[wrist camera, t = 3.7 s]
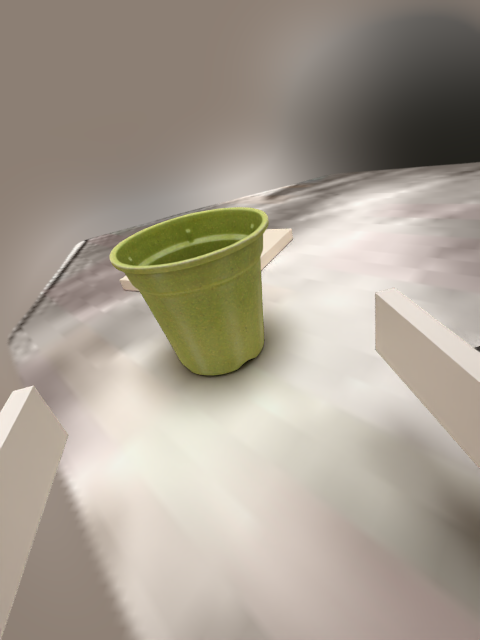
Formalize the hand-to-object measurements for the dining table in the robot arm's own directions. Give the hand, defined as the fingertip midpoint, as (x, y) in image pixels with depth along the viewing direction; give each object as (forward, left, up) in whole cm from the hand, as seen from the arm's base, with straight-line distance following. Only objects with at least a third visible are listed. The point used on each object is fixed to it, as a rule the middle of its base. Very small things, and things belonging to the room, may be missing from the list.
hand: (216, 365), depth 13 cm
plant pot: (+6, -7, -6) cm, 12 cm away
